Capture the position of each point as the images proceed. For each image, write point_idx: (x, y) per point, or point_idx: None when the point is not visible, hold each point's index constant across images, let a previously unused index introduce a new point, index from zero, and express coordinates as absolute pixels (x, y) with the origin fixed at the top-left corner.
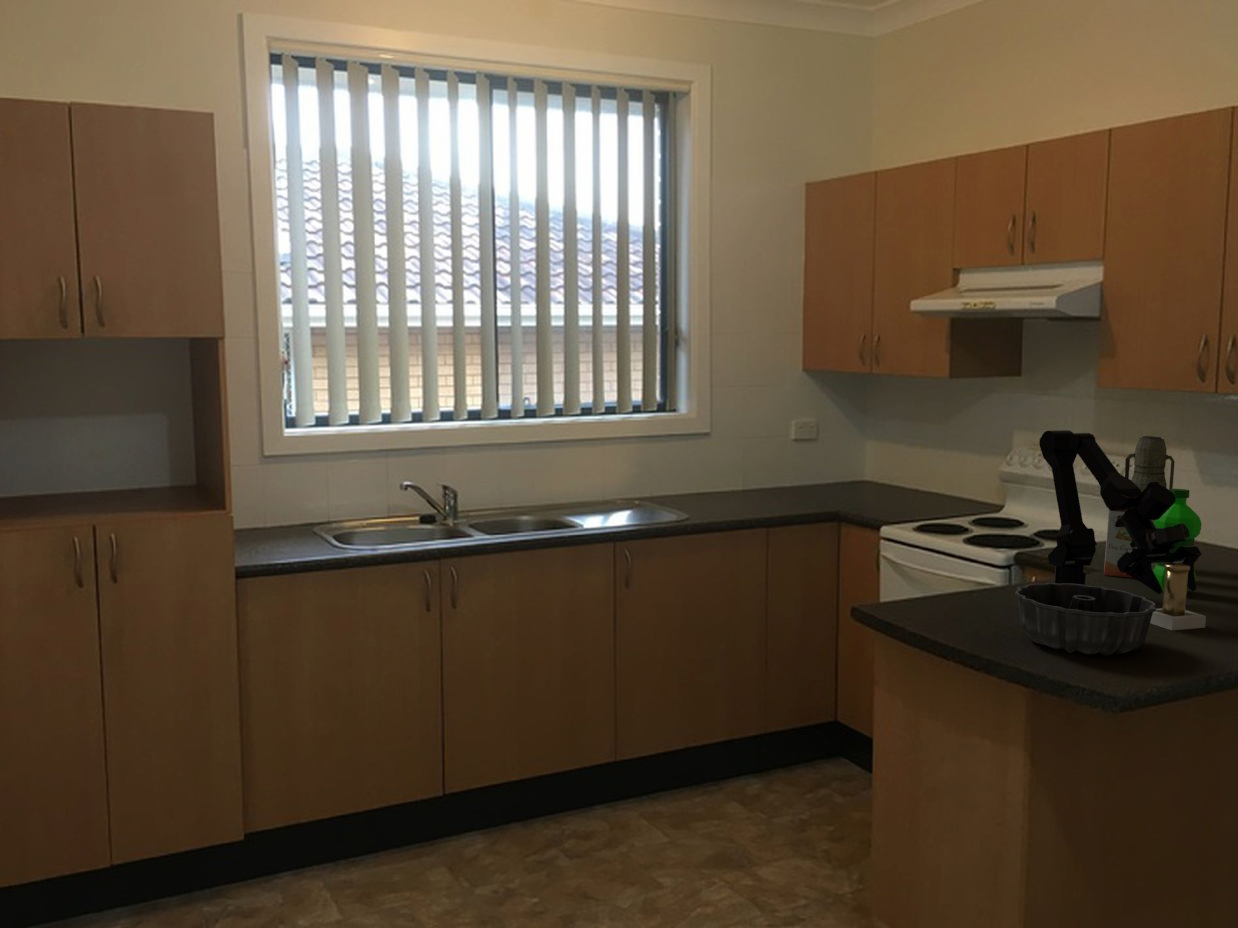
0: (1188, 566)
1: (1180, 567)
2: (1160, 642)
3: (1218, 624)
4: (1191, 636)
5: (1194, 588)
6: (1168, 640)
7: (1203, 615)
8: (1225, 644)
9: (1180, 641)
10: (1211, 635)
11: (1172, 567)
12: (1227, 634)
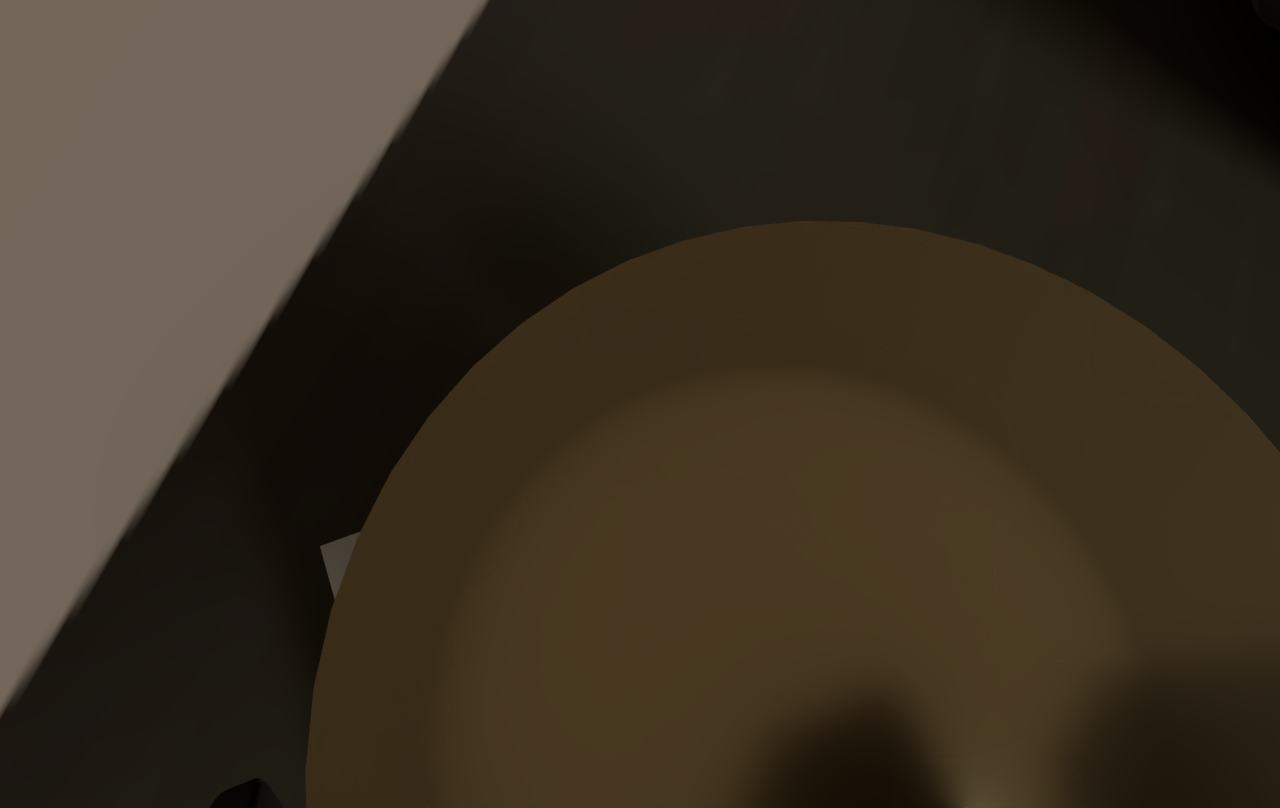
0: (486, 431)
1: (900, 229)
2: (987, 57)
3: (102, 741)
4: (664, 231)
5: (266, 791)
6: (908, 109)
7: (334, 578)
8: (490, 29)
9: (821, 88)
10: (459, 275)
11: (1143, 370)
12: (277, 320)
